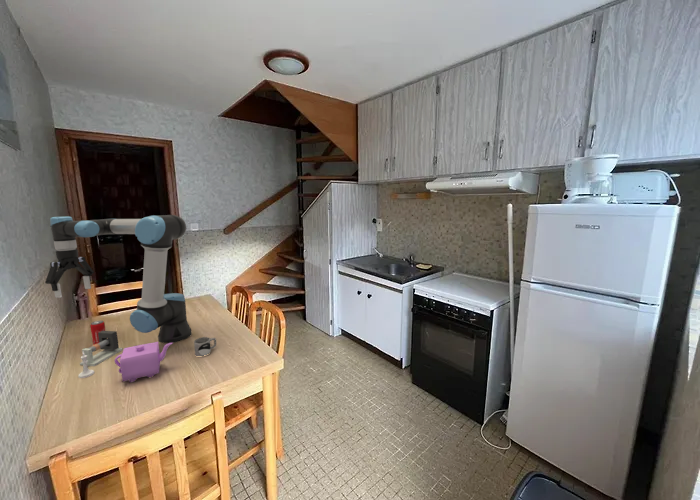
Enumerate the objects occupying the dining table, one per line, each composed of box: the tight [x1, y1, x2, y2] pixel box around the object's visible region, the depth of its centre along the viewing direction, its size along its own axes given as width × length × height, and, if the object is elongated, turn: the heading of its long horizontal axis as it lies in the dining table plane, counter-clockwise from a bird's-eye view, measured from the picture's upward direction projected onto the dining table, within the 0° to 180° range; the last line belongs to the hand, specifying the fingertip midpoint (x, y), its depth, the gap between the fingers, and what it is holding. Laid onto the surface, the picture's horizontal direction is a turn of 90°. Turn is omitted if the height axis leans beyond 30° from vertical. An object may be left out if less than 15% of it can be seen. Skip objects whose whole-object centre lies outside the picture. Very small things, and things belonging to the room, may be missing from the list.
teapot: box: [114, 341, 174, 383], centre depth 120 cm, size 20×10×12 cm, turn 120°
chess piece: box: [78, 351, 95, 379], centre depth 119 cm, size 5×5×10 cm
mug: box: [193, 336, 217, 357], centre depth 138 cm, size 10×7×7 cm, turn 143°
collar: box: [98, 330, 120, 351], centre depth 136 cm, size 2×7×8 cm, turn 84°
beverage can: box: [89, 320, 106, 346], centre depth 143 cm, size 5×5×12 cm
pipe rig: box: [79, 338, 124, 367], centre depth 132 cm, size 14×7×7 cm, turn 173°
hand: (74, 292), depth 141 cm, fingers open, 13 cm apart
